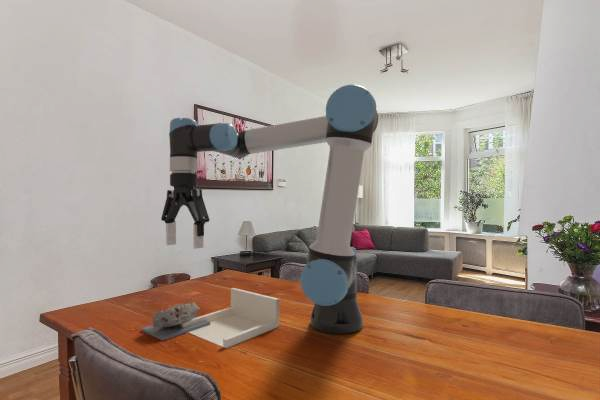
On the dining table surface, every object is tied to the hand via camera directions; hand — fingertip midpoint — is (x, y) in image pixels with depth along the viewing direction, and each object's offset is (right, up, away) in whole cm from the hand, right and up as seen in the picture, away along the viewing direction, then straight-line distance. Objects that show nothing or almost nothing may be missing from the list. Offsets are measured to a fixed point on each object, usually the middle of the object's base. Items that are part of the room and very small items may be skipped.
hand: (184, 246), depth 101 cm
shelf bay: (+13, -23, -2) cm, 27 cm away
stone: (-2, -22, -1) cm, 22 cm away
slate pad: (-2, -23, -1) cm, 23 cm away
